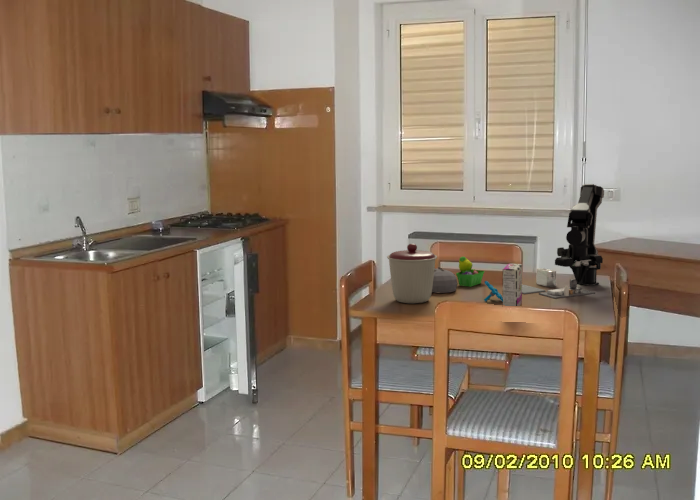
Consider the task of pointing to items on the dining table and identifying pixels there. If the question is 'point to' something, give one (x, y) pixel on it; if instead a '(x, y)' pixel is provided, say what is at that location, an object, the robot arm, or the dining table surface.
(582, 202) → the robot arm
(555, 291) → the rack
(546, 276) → the chain link
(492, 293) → the blue bumpy stand
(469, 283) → the fruit basket
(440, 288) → the soft grey pack
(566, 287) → the rail base
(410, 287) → the canister
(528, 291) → the pad
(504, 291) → the candy bar box
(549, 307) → the dining table surface
